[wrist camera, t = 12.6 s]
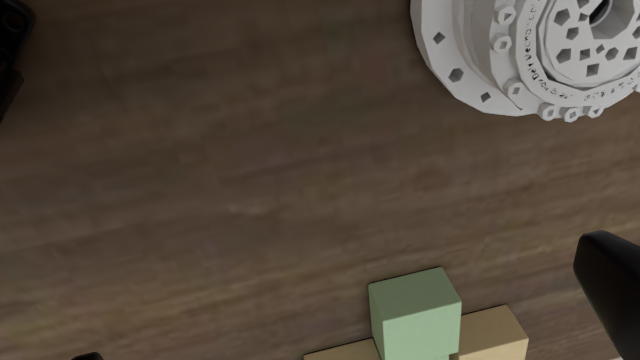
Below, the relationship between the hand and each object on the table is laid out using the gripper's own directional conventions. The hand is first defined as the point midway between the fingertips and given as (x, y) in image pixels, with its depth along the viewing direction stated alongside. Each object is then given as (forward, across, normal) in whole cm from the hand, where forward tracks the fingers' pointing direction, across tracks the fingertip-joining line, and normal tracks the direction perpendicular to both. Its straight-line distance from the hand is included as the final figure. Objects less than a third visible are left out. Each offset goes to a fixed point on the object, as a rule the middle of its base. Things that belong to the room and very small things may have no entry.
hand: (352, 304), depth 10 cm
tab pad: (+12, -5, +16) cm, 21 cm away
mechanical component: (+12, -10, -1) cm, 16 cm away
